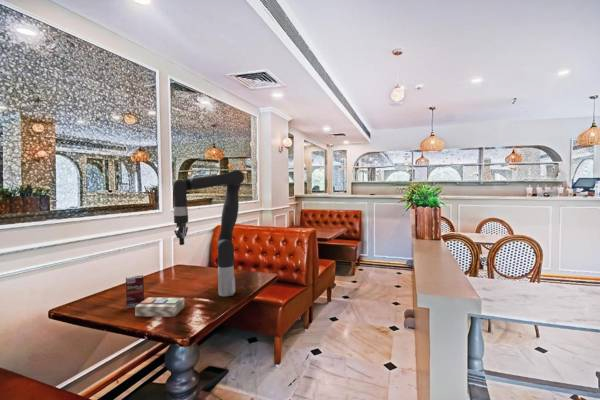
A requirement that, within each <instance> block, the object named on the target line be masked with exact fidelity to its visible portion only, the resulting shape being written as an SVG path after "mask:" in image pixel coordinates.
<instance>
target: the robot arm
mask: <svg viewBox="0 0 600 400" xmlns="http://www.w3.org/2000/svg"><path fill="white" fill-rule="evenodd" d="M244 180H245V174H244V173H243V171H241V170H240V169H239V170H238V169H233V170H230V171H228V172H226V173H220V174H213V175H203V176H195V177H194V176H193V177H191V178H190V177H189V178H182V179H181V178H179V179H176V180H175V181H174V182H173V184H172V188H173V189H172V190H173V223H174V224H176V226H175V227H176V229H174V231H173V232H174V234H175V236H176V238H177V239H178V241H179V243H178V244H179V245H180V246H184V245H185V238H186V237H187V233H188V231H189V226H187V223H189V210H188V198H187V194H188V192H187V191H191V190H200V189H202V190H203V189H207V188H212V187H218V186H225V185H226V192H225V196H224V201H223V205H222V211H221V222H220V233H219V237H218V240H217V244H216V247H217V281H218V283H217V284H218V286H217V287H218V296H220V297H230V296H234V294H235V293H236V277H235V271H234V270H235V267H234V266H235V265H234V262H235V246H234V243H233V234H234V228H235V226H236V223H237V221H238V214H239V207H240V206H239V202H240V201H239V191H240V187H241V184H242V183H243V182H244Z"/></svg>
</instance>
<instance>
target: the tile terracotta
mask: <svg viewBox="0 0 600 400" xmlns="http://www.w3.org/2000/svg"><path fill="white" fill-rule="evenodd" d="M145 299H146V300H145ZM145 299H144V301H143V302H141V304H152V303H153V302H155V301H156V299H147V298H145Z"/></svg>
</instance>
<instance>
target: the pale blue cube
mask: <svg viewBox="0 0 600 400" xmlns="http://www.w3.org/2000/svg"><path fill="white" fill-rule="evenodd" d="M167 301H168V300H167V299H158V300H156V301H155V302H154V303H153V304H164V303H166V302H167Z"/></svg>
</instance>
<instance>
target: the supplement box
mask: <svg viewBox="0 0 600 400" xmlns="http://www.w3.org/2000/svg"><path fill="white" fill-rule="evenodd" d="M144 282H145V281H144V275H143V274H142V275H134V276H128V277H127V276H126V277H125V295H126V299H125V300H126V301H125V302H126V303H125V305H126V309H131V308H135V306H136V305H138V304H139V303H141V302H142V301H144V300H145V288H144V287H145V286H144V285H145V283H144Z"/></svg>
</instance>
